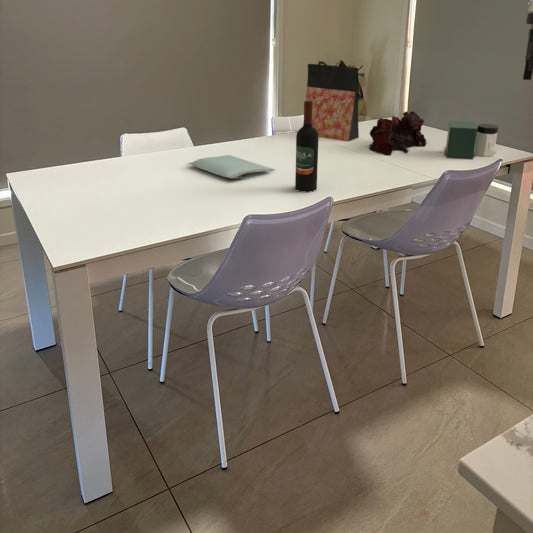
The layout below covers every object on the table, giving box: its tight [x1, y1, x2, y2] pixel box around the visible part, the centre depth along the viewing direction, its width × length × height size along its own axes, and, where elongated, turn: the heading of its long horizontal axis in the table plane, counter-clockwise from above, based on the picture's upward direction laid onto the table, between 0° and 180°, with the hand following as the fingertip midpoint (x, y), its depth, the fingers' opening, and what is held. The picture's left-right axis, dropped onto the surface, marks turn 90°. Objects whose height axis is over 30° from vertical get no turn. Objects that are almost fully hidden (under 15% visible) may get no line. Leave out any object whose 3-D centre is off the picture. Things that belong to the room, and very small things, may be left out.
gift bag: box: [302, 59, 366, 142], centre depth 274 cm, size 29×14×35 cm, turn 53°
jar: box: [473, 123, 499, 158], centre depth 248 cm, size 9×8×12 cm
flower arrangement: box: [368, 110, 427, 156], centre depth 259 cm, size 31×20×15 cm, turn 137°
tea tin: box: [445, 125, 477, 160], centre depth 247 cm, size 13×11×12 cm
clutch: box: [188, 155, 273, 179], centre depth 228 cm, size 28×4×20 cm
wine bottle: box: [294, 100, 320, 193], centre depth 201 cm, size 8×8×30 cm
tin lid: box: [448, 120, 478, 131], centre depth 245 cm, size 13×11×1 cm
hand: (526, 79), depth 225 cm, fingers closed
